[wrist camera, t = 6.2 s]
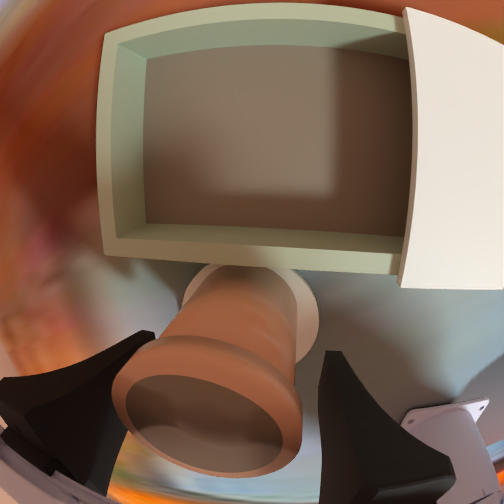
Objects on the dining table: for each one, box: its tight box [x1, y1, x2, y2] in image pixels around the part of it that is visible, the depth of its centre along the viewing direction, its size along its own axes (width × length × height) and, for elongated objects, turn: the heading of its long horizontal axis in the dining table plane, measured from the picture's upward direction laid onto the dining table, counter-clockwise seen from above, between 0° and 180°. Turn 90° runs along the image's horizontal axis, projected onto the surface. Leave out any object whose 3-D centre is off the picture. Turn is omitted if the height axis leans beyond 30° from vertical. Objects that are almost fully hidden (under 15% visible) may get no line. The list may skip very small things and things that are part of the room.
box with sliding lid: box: [96, 3, 504, 289], centre depth 10 cm, size 11×18×4 cm, turn 89°
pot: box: [112, 265, 303, 478], centre depth 10 cm, size 6×6×8 cm
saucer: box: [182, 264, 319, 364], centre depth 14 cm, size 7×7×1 cm
